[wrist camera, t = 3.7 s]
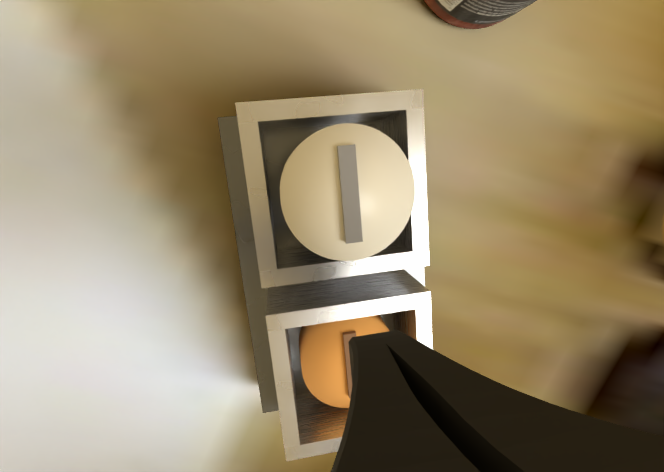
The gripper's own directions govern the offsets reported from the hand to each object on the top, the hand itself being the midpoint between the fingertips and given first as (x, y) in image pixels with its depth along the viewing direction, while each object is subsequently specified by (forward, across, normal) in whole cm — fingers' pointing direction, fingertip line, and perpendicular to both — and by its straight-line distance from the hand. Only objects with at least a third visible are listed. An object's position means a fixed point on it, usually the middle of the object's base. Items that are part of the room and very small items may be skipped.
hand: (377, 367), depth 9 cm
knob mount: (+8, 0, -1) cm, 9 cm away
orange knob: (+6, 0, +3) cm, 7 cm away
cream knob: (+4, 0, -4) cm, 6 cm away
